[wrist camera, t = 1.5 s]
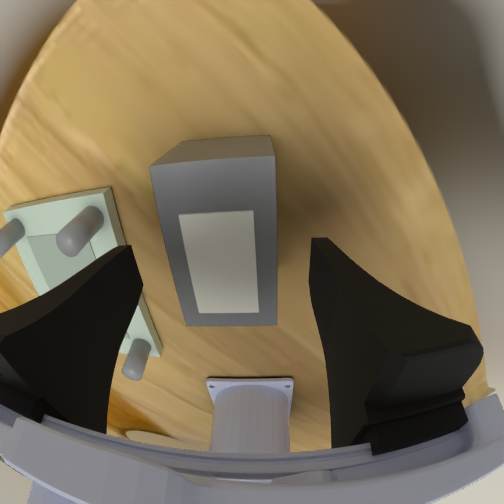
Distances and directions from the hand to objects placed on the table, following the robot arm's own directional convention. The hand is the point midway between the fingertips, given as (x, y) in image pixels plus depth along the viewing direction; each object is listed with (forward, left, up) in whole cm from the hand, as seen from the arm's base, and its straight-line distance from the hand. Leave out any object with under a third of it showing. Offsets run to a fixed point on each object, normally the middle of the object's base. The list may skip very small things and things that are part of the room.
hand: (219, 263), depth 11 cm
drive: (0, 0, -6) cm, 6 cm away
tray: (-5, +12, -5) cm, 14 cm away
